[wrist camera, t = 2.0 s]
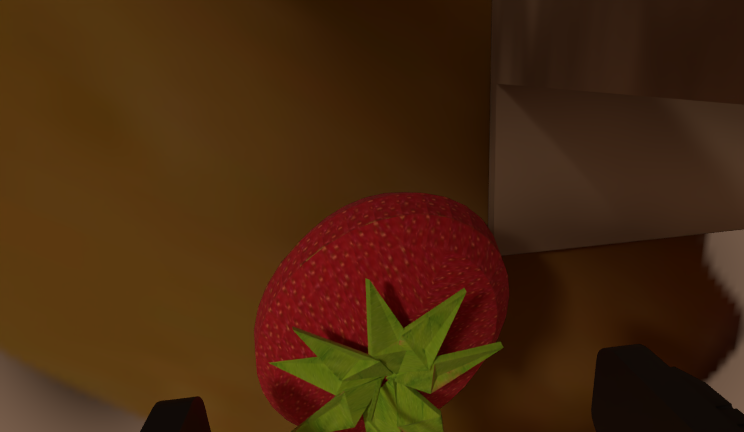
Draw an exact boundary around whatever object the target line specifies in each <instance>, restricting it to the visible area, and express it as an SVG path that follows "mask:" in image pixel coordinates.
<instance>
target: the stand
mask: <svg viewBox="0 0 744 432" xmlns="http://www.w3.org/2000/svg"><path fill="white" fill-rule="evenodd" d="M488 228H489V230H490V231H491V232H492V234H493V236H494V238H495V241H496V244H497V246H498V249H499V251H500V254H501V256H504V255H513V254H522V253H531V252H541V251H550V250H559V249H568V248H577V247H586V246H596V245H605V244H614V243H623V242H632V241H641V240H651V239H660V238H669V237H678V236H687V235H696V234H706V233H715V232H723V231H733V230H742V229H744V0H492V29H491V89H490V150H489V210H488Z"/></svg>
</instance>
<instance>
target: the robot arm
mask: <svg viewBox="0 0 744 432" xmlns="http://www.w3.org/2000/svg"><path fill="white" fill-rule="evenodd" d="M591 412H592V419H593V423H594V426H595V429H596V432H744V414H743V413H742V412H740V411H739V410H738V409H733V408H732V404H731V403H729V402H728V401H727V400H725V398H723V397H722V396H721V395H719V393H717V392H716V391H715V390H713V389H712V388H711V387H710V386H709V385H708V384H706V383H705V382H703V381H701V380H699V379H697V378H695V377H693V376H691V375H689V374H688V373H686V372H684V371H682V370H680V369H678V368H676V367H669V366H668V365H667V364H666V363H664V362H663V361H662V360H661V359H660V358H659V357H657V356H656V355H655V354H654V353H653V352H652V351H651V350H649V349H648V348H647V347H645V346H643V345H641V344H634V345H626V346H618V347H609V348H603V349H601V350H600V351H599V352H598V355H597V360H596V369H595V379H594V388H593V398H592V408H591ZM140 432H211V430H210V426H209V422H208V418H207V414H206V410H205V406H204V402H203V400H202V399H201V398H200V397H190V398H182V399H173V400H165V401H159V402H157V403H156V404H155V405H154V407H153V408H152V410H151V412H150V414H149V416H148V418H147V420H146V422H145V423H144V425H143V427H142V429H141V431H140Z"/></svg>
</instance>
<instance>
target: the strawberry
mask: <svg viewBox="0 0 744 432" xmlns="http://www.w3.org/2000/svg"><path fill="white" fill-rule="evenodd" d="M508 301H509V284H508V274H507V271H506V268H505V265H504V263H503V260H502V257H501V254H500V251H499V249H498V246H497V244H496V241H495V238H494V236H493V234H492V232H491V231H490V230H489V228H488V227H487V225H486V224H485V222H484V221H483V220H482V218H480V217H479V216H478V215H477V214H475V213H474V212H473V211H472V210H470V209H469V208H468V207H467V206H465V205H463V204H460V203H458V202H456V201H454V200H451V199H449V198H447V197H442V196H437V195H431V194H425V193H409V192H401V193H383V194H379V195H375V196H370V197H366V198H363V199H361V200H358V201H356V202H353V203H351V204H348V205H346V206H344V207H343V208H341V209H339V210H338V211H336V212H334V213H333V214H331V215H329V216H328V217H326V218H325V219H324V220H323V221H322V222H320V223H319V224H318V225H317V226H316V227H314V228H313V229H312V230H311V231H310V232H309V233H308V234H307V235H306V236H305V237H304V238H303V239H302V240H301V241H300V242H299V243H298V244H297V245H296V246H295V247H294V248H293V250H292V251H291V252H290V253H289V254H288V255H287V256H286V258H285V259H284V260H283V261H282V262H281V263H280V265H279V266H278V268H277V270H276V271H275V273H274V275H273V276H272V278H271V279H270V281H269V283H268V284H267V286H266V289H265V291H264V294H263V296H262V299H261V301H260V304H259V306H258V311H257V316H256V322H255V328H254V337H255V354H256V366H257V375H258V378H259V381H260V384H261V388H262V391H263V393H264V395H265V396H266V398H267V399H268V401H269V402H270V404H271V405H272V407H273V408H274V409H275V410H276V411H277V412H278V413H279V414H281V415H282V416H283V417H284V418H285V419H286V420H287V421H289V422H291V423H293V424H295V425H297V426H298V427H296V428H295V429H294V430H293V431H291V432H401V431H403V432H444V429H443V422H442V415H441V411H440V410H439V408H441V407H442V406H443V405H445V404H446V403H448V402H449V401H450V400H451V399H452V398H453V397H454V396H455V395H456V394H457V393H458V392H459V391H461V390H462V389H463V388H464V387H465V385H466V384H467V383H468V382H469V380H470V379H471V378H472V377H473V375H474V374H475V373H476V372H477V370H478V369H479V368H480V366H481V365H482V364H483V362H484V361H485V359H486V358H488V357H490V356H491V355H493V354H494V353H496V352H497V351H499V350H501V349H502V348H503V346H502V344H501V342H497V343H495V342H496V341H497V339H498V337H499V334H500V332H501V329H502V326H503V324H504V321H505V318H506V314H507V307H508Z"/></svg>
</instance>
